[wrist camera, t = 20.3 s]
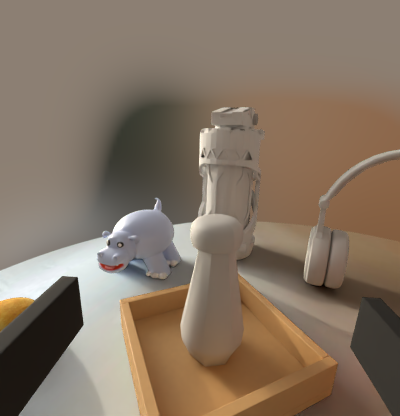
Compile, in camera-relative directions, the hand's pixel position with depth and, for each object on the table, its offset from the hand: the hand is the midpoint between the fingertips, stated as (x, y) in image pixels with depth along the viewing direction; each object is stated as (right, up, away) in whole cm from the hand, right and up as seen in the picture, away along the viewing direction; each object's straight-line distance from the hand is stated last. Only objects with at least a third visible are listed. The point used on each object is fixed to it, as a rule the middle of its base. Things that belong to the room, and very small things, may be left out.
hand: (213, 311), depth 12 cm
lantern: (+5, -3, +36) cm, 37 cm away
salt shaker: (0, -9, +12) cm, 15 cm away
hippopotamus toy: (-10, -5, +28) cm, 30 cm away
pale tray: (0, -9, +12) cm, 15 cm away
